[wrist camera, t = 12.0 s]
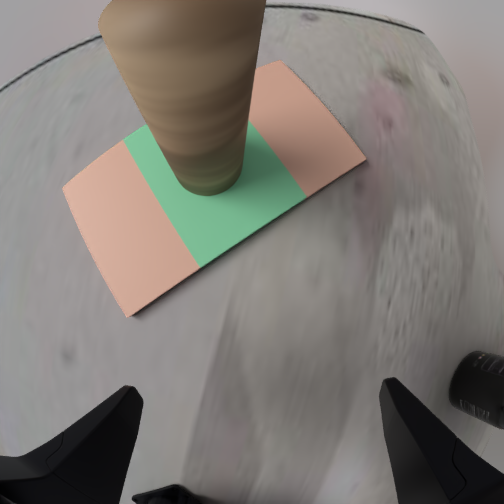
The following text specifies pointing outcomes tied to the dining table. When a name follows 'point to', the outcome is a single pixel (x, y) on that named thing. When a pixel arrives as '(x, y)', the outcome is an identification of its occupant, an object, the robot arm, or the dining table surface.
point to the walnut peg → (190, 79)
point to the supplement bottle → (480, 387)
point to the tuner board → (204, 207)
